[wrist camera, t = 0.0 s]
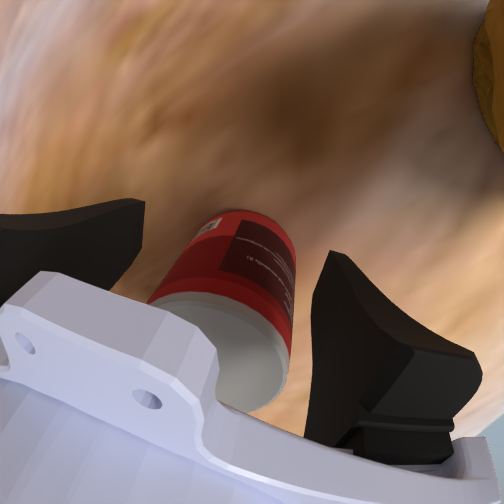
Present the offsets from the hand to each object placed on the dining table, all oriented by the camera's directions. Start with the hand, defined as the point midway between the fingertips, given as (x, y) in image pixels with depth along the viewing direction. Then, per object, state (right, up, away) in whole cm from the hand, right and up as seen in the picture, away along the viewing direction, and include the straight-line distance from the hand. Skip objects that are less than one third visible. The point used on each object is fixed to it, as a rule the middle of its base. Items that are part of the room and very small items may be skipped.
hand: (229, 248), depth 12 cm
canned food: (0, -1, +12) cm, 12 cm away
